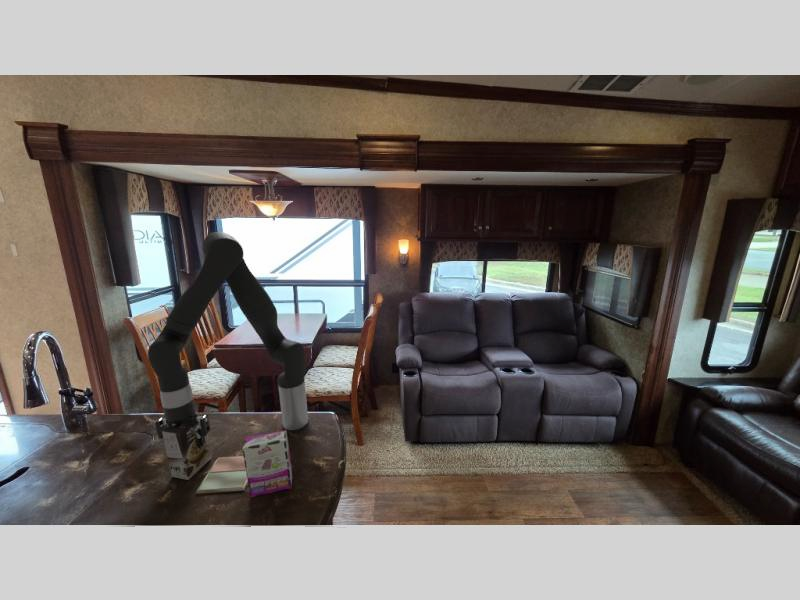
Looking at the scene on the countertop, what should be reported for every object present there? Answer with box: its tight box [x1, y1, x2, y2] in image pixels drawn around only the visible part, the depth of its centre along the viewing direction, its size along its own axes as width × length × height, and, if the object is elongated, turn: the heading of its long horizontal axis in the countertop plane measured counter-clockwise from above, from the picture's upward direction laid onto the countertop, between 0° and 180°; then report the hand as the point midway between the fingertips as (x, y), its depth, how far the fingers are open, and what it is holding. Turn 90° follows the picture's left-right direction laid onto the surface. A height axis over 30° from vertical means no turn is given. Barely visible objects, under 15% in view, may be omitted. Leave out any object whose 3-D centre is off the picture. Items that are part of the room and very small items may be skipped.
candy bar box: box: [242, 429, 293, 498], centre depth 89 cm, size 11×5×16 cm, turn 106°
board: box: [195, 455, 248, 495], centre depth 95 cm, size 13×13×1 cm
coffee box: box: [162, 414, 212, 481], centre depth 96 cm, size 9×6×16 cm
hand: (188, 447), depth 96 cm, fingers closed on coffee box, 7 cm apart
